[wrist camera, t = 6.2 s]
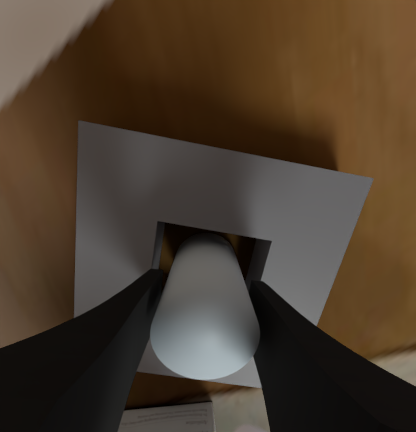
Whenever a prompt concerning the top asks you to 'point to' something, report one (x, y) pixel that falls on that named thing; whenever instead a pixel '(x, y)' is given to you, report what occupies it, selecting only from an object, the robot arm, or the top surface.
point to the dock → (207, 218)
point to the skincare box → (170, 419)
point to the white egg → (205, 312)
